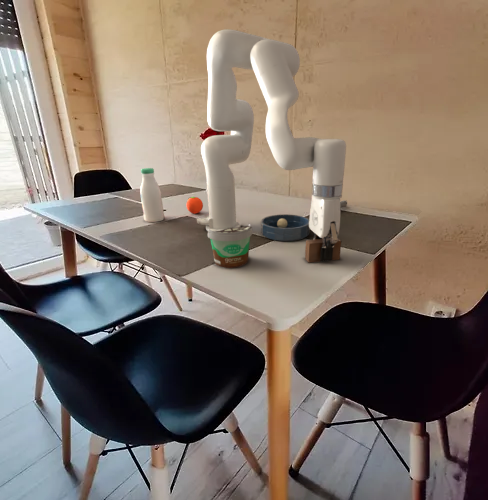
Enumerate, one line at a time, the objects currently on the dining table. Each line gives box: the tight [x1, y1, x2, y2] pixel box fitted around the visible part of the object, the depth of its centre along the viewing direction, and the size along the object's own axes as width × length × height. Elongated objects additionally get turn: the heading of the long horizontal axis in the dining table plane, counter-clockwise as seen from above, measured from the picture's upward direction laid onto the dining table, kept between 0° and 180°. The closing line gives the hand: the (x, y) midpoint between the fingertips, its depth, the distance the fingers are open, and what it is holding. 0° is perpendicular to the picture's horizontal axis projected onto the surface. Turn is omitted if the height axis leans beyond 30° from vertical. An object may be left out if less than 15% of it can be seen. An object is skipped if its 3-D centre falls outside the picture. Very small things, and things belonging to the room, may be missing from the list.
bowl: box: [260, 214, 311, 242], centre depth 105 cm, size 16×16×4 cm
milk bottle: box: [139, 167, 165, 223], centre depth 121 cm, size 8×8×20 cm
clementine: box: [186, 196, 204, 214], centre depth 132 cm, size 8×7×7 cm
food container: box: [207, 223, 254, 269], centre depth 82 cm, size 12×6×10 cm, turn 114°
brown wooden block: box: [304, 237, 342, 263], centre depth 85 cm, size 9×3×6 cm, turn 101°
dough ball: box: [277, 219, 287, 228], centre depth 109 cm, size 4×4×4 cm
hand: (322, 256), depth 85 cm, fingers open, 4 cm apart
